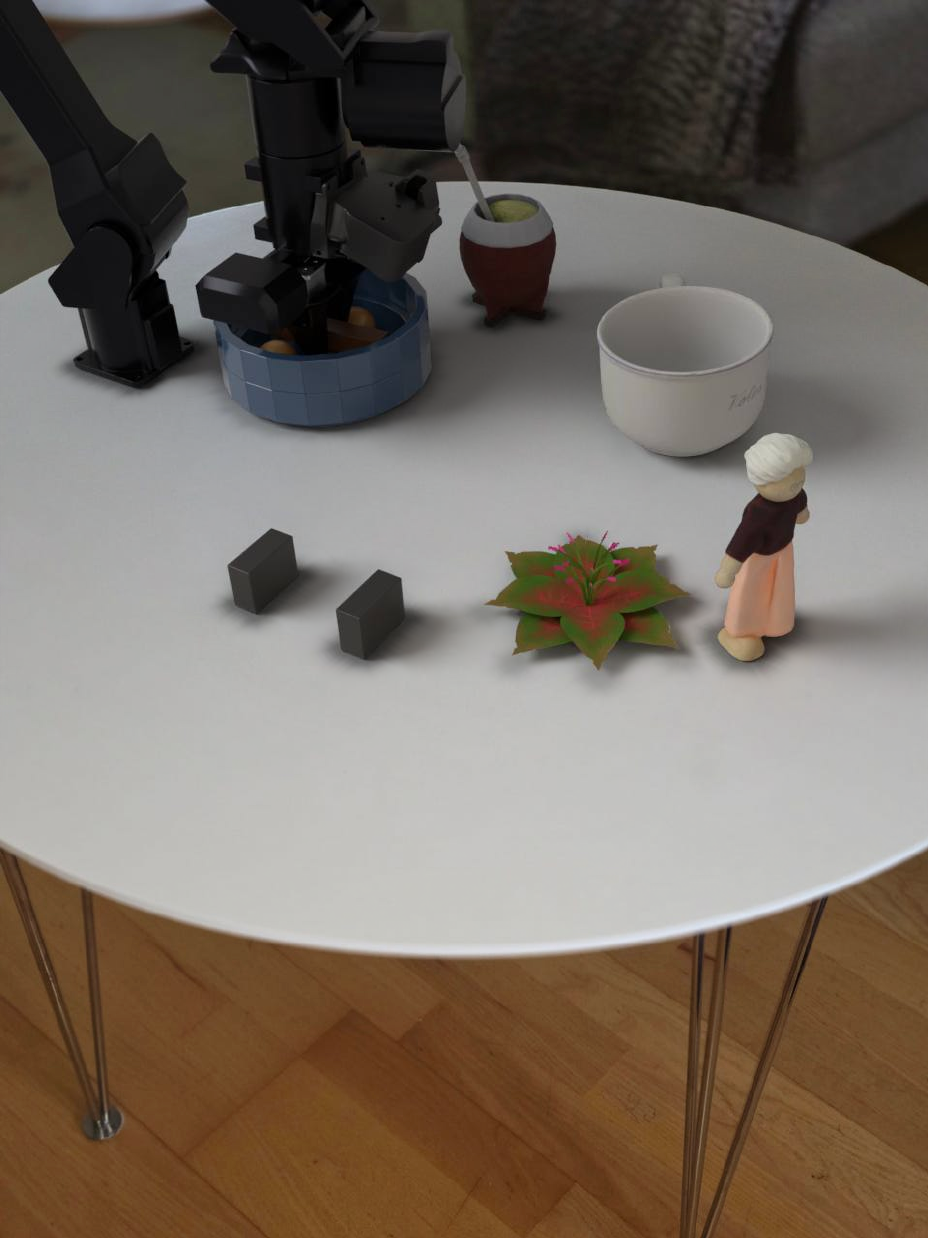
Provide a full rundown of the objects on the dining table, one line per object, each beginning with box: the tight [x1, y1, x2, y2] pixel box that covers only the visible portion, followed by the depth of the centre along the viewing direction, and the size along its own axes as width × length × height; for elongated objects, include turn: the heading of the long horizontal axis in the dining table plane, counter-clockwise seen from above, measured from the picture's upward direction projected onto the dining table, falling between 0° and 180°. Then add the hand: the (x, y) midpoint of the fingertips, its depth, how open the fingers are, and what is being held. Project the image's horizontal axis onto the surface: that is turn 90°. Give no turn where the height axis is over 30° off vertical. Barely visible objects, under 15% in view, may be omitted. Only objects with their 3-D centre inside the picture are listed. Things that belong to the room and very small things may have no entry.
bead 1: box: [260, 340, 297, 355], centre depth 95 cm, size 3×3×3 cm
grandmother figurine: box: [714, 432, 814, 662], centre depth 71 cm, size 8×4×13 cm, turn 148°
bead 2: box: [348, 306, 376, 329], centre depth 98 cm, size 3×3×3 cm
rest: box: [226, 527, 406, 660], centre depth 77 cm, size 9×4×3 cm, turn 57°
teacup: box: [596, 272, 774, 458], centre depth 89 cm, size 14×11×8 cm
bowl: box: [212, 268, 433, 428], centre depth 95 cm, size 15×15×6 cm
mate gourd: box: [454, 143, 557, 328], centre depth 98 cm, size 8×8×15 cm
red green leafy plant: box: [483, 530, 693, 672], centre depth 76 cm, size 12×12×5 cm
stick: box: [263, 317, 389, 353], centre depth 95 cm, size 10×2×2 cm, turn 62°
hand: (326, 358), depth 96 cm, fingers closed on stick, 2 cm apart
